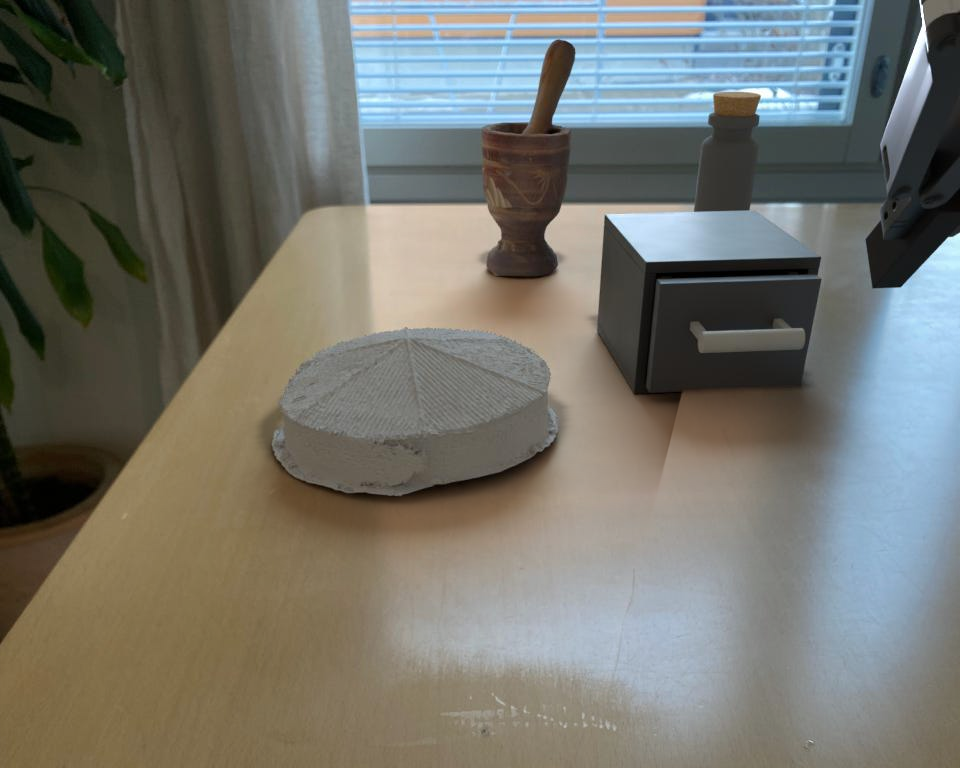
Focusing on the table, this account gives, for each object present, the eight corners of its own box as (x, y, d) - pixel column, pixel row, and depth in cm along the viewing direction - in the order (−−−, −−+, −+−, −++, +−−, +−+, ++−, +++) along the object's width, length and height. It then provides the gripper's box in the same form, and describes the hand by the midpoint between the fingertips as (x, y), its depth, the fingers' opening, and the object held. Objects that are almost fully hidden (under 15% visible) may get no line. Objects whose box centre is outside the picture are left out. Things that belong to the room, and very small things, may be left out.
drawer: (822, 409, 69) (846, 296, 64) (663, 415, 68) (676, 302, 63) (743, 328, 83) (758, 231, 78) (611, 332, 82) (619, 235, 78)
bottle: (726, 241, 110) (747, 89, 101) (753, 253, 106) (778, 96, 97) (679, 245, 109) (697, 91, 100) (705, 258, 104) (726, 99, 95)
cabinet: (796, 387, 74) (821, 256, 69) (633, 394, 73) (646, 262, 68) (737, 326, 86) (755, 210, 80) (596, 331, 85) (604, 214, 80)
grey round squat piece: (594, 488, 61) (601, 383, 57) (270, 514, 58) (254, 405, 54) (529, 374, 77) (531, 285, 73) (272, 390, 74) (260, 299, 70)
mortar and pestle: (497, 248, 108) (499, 36, 96) (574, 253, 106) (585, 38, 95) (473, 277, 99) (471, 47, 87) (557, 282, 97) (567, 48, 85)
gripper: (1086, -88, 25) (766, 337, 48) (1550, -91, 26) (1017, 327, 49) (1040, -330, 26) (749, 199, 50) (1485, -325, 27) (994, 192, 50)
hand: (883, 263), depth 49 cm, fingers closed
